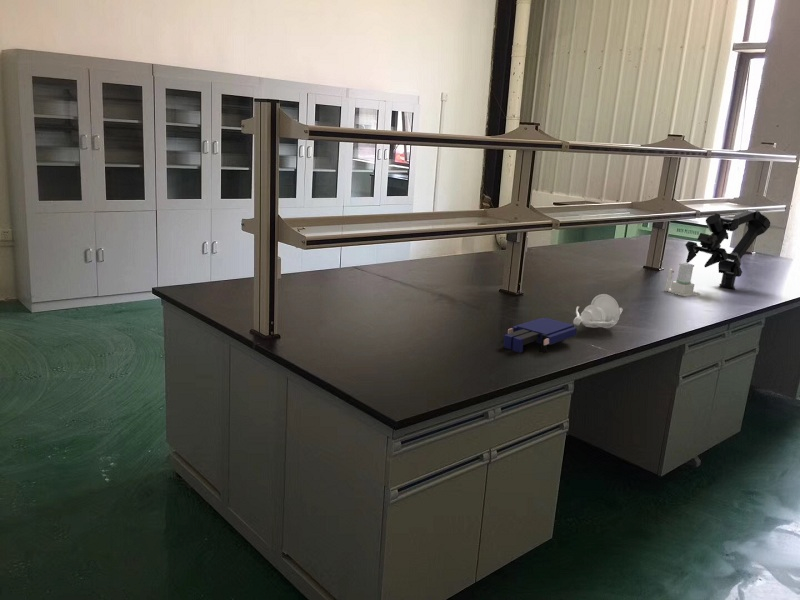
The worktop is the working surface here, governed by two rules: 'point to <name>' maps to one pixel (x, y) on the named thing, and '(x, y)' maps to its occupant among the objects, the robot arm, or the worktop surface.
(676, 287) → the stand
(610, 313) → the figurine
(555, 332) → the blue flat boxy piece
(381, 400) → the worktop surface
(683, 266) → the column
